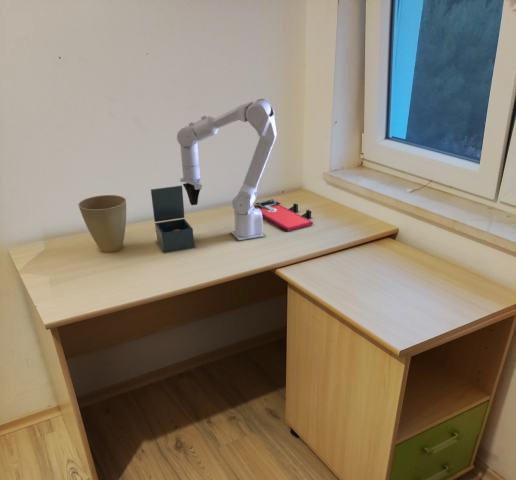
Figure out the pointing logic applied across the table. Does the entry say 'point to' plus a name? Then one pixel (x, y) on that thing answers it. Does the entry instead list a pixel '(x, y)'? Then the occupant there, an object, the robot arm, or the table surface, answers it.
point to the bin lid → (167, 203)
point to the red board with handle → (284, 215)
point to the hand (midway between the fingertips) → (193, 204)
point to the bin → (174, 235)
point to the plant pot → (105, 220)
